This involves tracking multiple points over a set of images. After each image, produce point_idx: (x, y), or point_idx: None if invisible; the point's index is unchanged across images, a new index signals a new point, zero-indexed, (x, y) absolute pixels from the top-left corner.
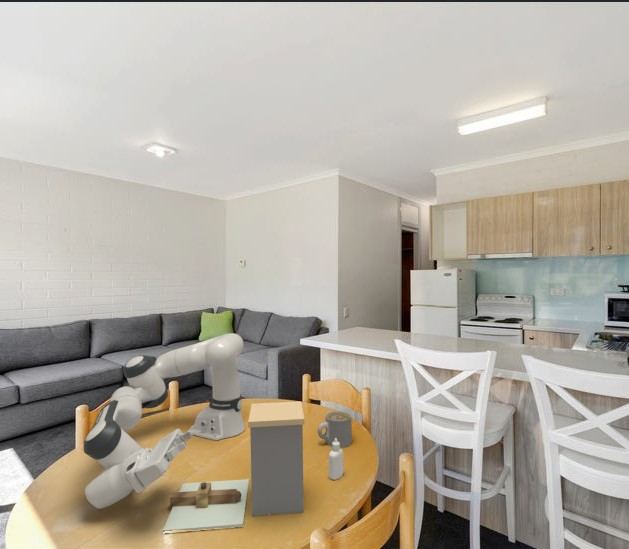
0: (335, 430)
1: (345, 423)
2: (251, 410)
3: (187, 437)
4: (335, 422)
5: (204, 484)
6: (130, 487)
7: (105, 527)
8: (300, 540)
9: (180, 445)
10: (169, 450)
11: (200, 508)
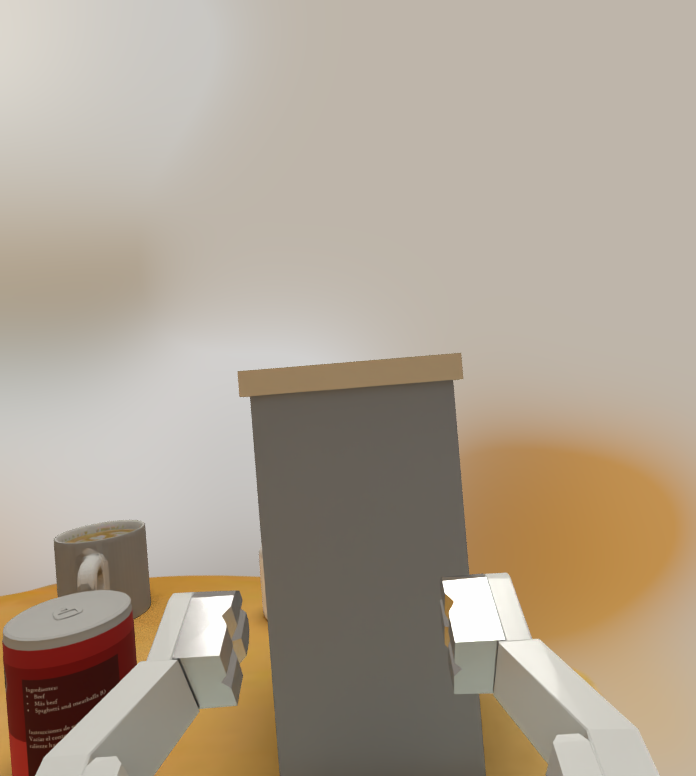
0: (132, 562)
1: (145, 533)
2: (327, 364)
3: (232, 654)
4: (131, 537)
5: None
6: None
7: None
8: (575, 671)
9: (515, 612)
10: (599, 760)
11: None
